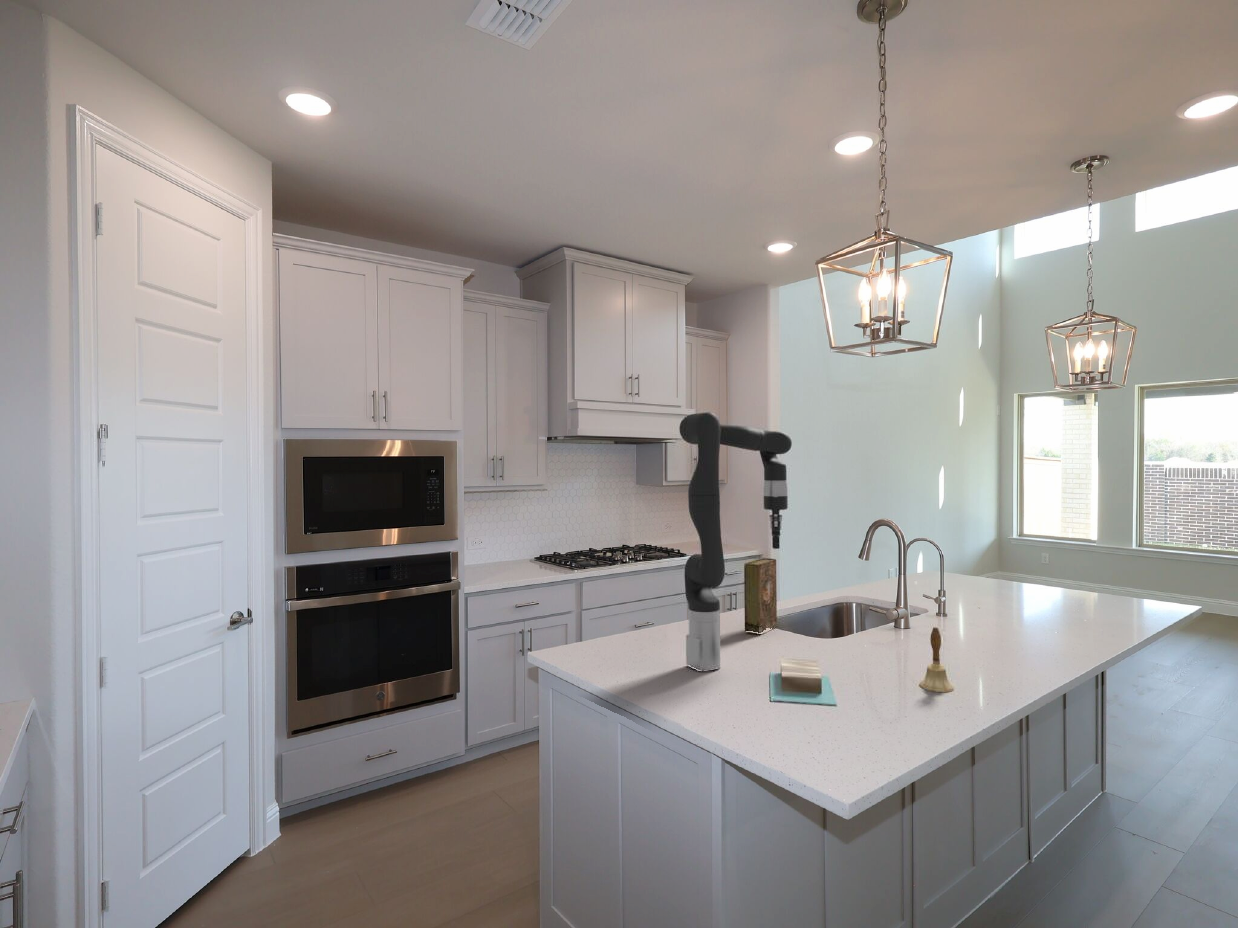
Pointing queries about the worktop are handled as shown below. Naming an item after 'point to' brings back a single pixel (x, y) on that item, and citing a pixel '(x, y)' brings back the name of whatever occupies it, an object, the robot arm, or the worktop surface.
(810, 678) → the block
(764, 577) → the book
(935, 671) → the hand bell
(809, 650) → the worktop surface
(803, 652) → the worktop surface
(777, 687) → the mat
